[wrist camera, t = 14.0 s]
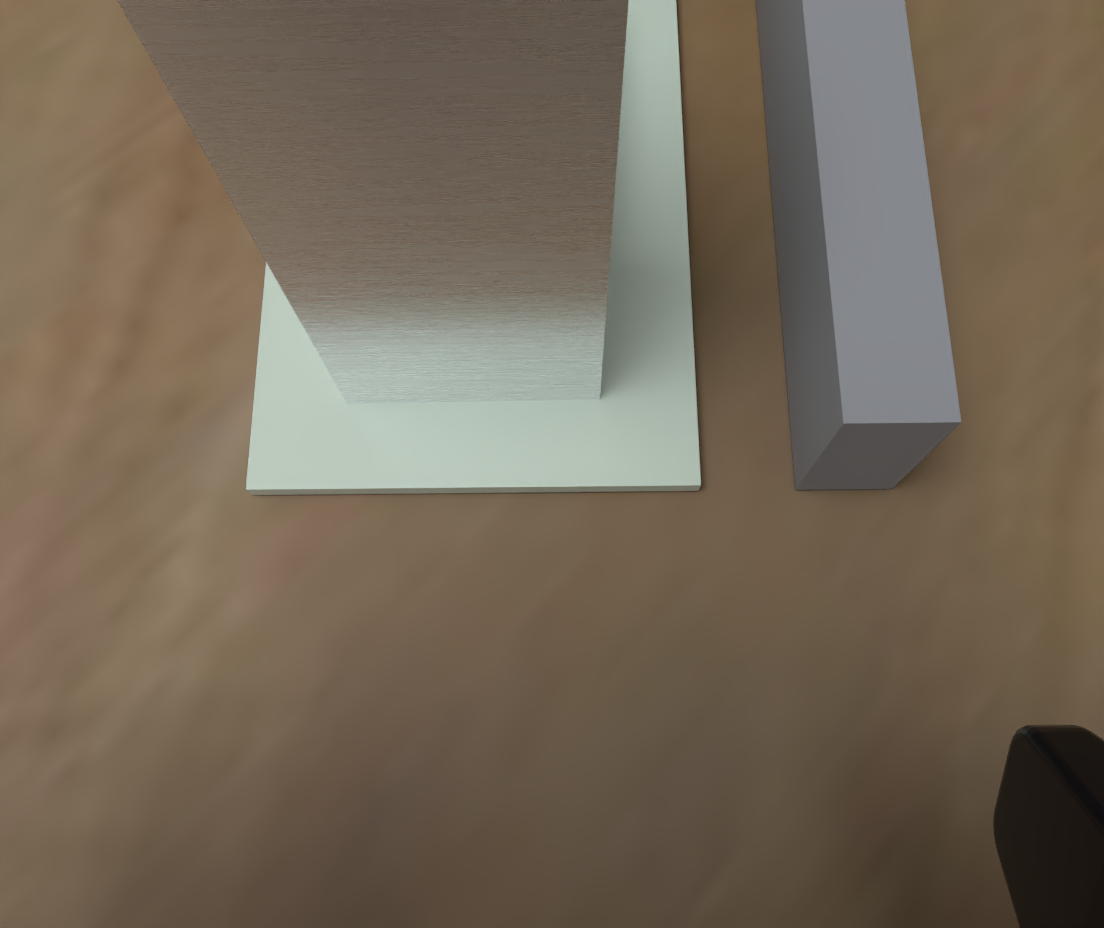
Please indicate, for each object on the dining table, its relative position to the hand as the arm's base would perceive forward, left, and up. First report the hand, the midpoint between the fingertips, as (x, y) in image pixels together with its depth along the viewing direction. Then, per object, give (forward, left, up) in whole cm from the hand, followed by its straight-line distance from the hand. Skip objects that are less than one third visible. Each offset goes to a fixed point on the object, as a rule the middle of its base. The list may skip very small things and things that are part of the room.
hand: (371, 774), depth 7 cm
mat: (-2, -9, -8) cm, 12 cm away
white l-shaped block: (-2, -9, -8) cm, 12 cm away
